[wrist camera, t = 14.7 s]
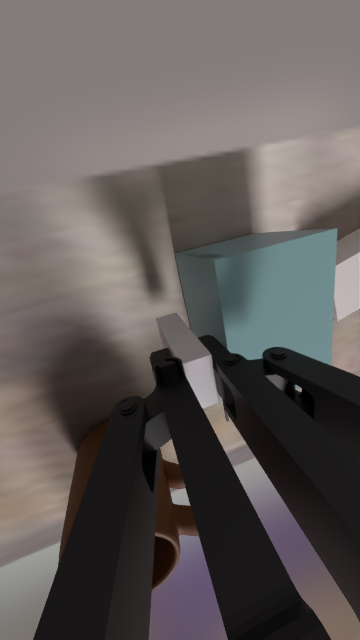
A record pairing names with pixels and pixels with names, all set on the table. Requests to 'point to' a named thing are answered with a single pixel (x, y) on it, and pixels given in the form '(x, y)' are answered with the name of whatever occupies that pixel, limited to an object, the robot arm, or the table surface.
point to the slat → (347, 276)
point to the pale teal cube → (264, 292)
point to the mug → (168, 515)
